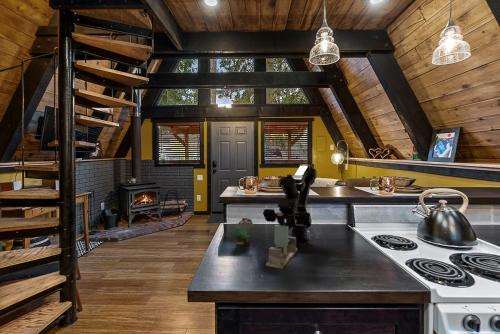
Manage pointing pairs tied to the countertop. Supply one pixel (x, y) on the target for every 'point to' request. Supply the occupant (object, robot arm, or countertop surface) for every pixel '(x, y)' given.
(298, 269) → the countertop surface
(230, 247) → the countertop surface
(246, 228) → the food container
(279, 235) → the grey-green notched block
